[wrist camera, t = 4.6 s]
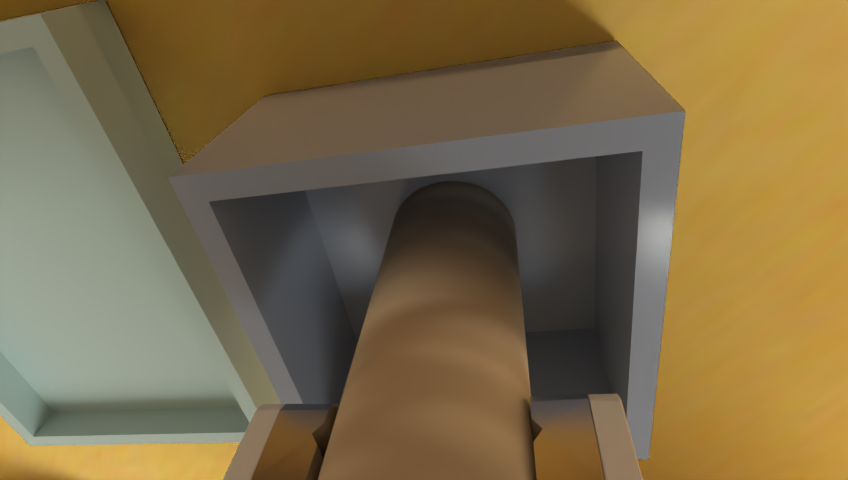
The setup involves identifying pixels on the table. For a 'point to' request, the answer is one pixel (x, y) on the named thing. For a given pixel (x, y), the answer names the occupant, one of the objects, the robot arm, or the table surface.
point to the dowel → (440, 350)
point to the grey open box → (453, 161)
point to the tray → (105, 255)
